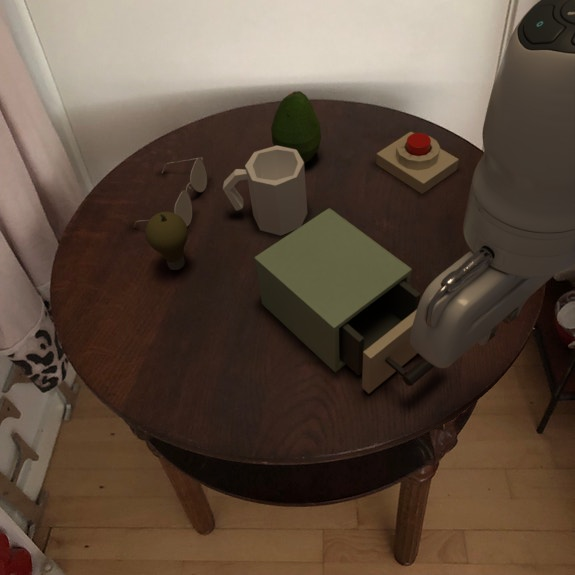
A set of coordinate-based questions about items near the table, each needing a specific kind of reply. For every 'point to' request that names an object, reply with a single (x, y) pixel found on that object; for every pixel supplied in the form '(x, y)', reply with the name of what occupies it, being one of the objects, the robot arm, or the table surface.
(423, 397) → the table surface
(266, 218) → the mug
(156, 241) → the light bulb
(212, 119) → the table surface
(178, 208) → the sunglasses
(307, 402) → the table surface
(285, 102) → the fruit
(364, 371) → the drawer
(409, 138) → the button
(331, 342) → the cabinet
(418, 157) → the button block
